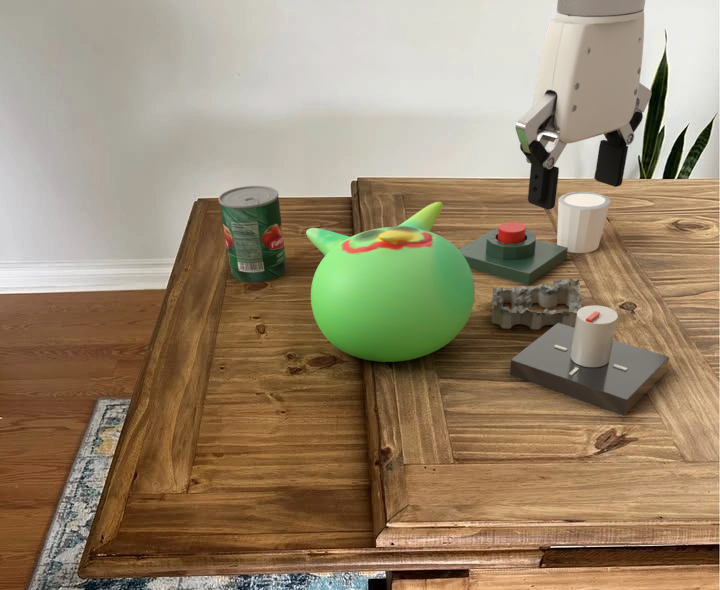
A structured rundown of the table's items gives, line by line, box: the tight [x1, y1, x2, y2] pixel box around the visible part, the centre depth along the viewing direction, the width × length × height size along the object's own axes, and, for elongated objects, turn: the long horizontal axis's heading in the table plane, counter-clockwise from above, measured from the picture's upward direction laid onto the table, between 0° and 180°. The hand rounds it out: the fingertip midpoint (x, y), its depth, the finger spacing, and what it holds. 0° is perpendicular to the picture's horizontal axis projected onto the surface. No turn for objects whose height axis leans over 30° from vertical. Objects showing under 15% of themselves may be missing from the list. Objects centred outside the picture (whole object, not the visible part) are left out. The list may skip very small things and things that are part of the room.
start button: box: [497, 221, 527, 243], centre depth 98 cm, size 4×4×2 cm
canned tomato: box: [217, 185, 288, 283], centre depth 99 cm, size 8×8×11 cm
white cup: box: [556, 191, 611, 254], centre depth 102 cm, size 7×7×7 cm
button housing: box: [457, 229, 568, 286], centre depth 100 cm, size 12×10×4 cm
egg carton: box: [491, 278, 583, 330], centre depth 87 cm, size 11×8×4 cm
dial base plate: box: [509, 323, 670, 417], centre depth 77 cm, size 13×10×3 cm
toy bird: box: [305, 201, 476, 363], centre depth 81 cm, size 18×17×15 cm
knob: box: [570, 304, 619, 367], centre depth 75 cm, size 4×4×5 cm
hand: (575, 194), depth 76 cm, fingers open, 9 cm apart
